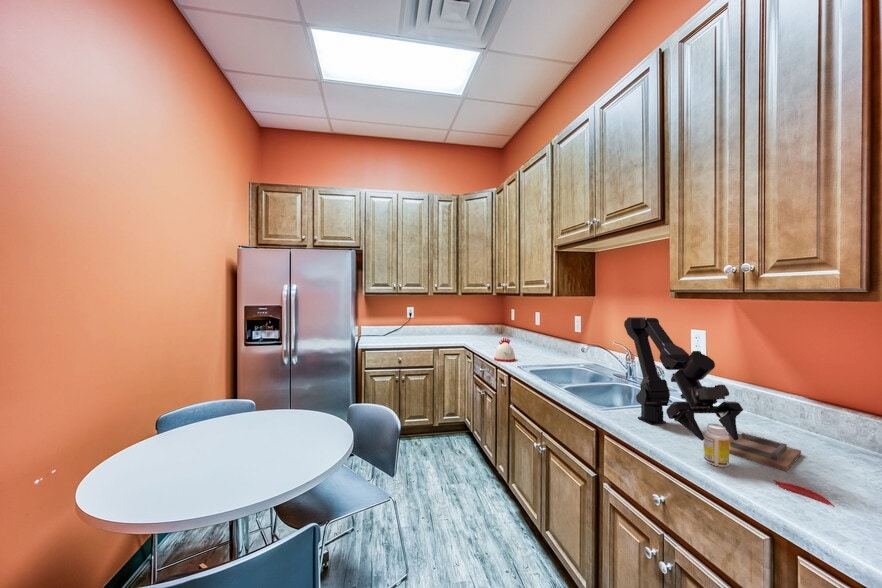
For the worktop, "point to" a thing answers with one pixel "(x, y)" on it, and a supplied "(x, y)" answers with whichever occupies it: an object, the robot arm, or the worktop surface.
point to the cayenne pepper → (803, 492)
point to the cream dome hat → (504, 352)
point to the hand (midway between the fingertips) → (719, 439)
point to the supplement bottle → (716, 445)
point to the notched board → (763, 451)
